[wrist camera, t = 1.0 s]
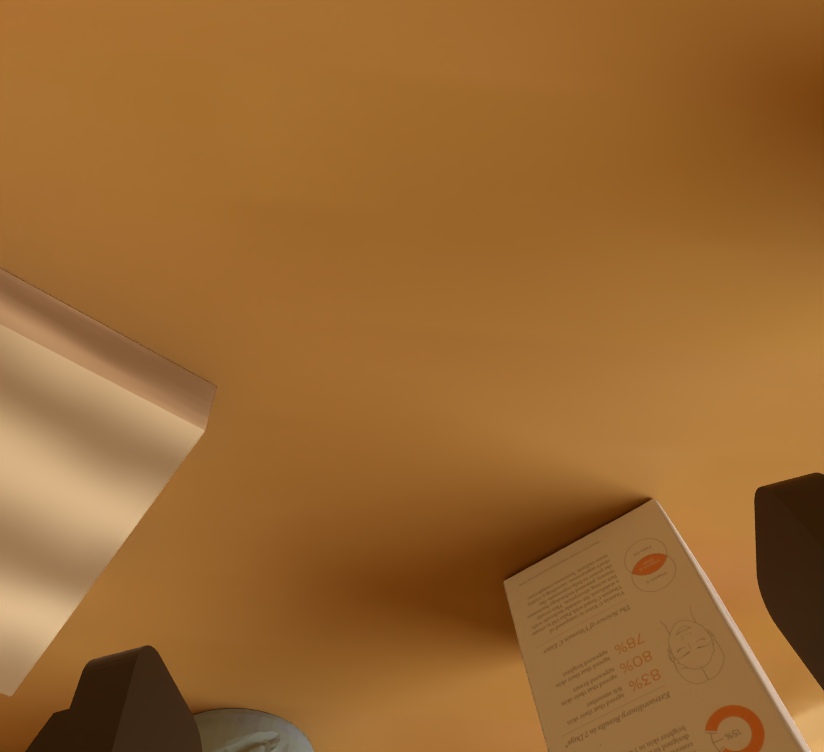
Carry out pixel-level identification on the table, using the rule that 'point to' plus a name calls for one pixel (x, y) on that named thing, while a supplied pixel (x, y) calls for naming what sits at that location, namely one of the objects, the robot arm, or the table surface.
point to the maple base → (76, 458)
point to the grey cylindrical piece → (248, 732)
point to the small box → (640, 649)
